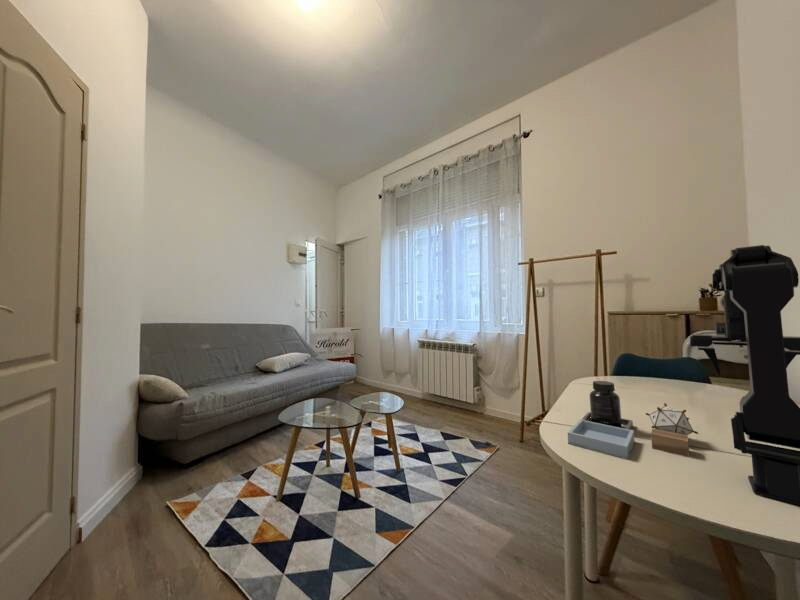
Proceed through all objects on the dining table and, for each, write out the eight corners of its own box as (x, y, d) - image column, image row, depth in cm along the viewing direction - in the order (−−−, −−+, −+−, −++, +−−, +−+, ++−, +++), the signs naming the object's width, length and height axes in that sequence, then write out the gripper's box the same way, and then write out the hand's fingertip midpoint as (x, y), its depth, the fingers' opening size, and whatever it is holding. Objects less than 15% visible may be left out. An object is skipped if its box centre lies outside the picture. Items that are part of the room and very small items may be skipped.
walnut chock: (689, 458, 62) (687, 441, 62) (652, 449, 66) (651, 433, 66) (688, 451, 65) (687, 435, 65) (653, 443, 69) (652, 428, 69)
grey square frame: (627, 438, 71) (627, 432, 72) (579, 427, 79) (579, 421, 79) (632, 426, 79) (632, 420, 79) (588, 417, 86) (588, 412, 86)
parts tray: (627, 459, 62) (627, 446, 62) (568, 443, 70) (567, 432, 70) (634, 441, 70) (633, 430, 70) (580, 429, 78) (579, 419, 78)
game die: (668, 456, 69) (642, 424, 69) (656, 431, 76) (632, 402, 77) (714, 447, 64) (686, 412, 65) (697, 421, 72) (672, 389, 72)
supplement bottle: (592, 420, 84) (590, 378, 84) (622, 425, 79) (619, 381, 80) (589, 428, 78) (587, 383, 79) (621, 434, 74) (618, 386, 75)
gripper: (797, 312, 70) (803, 377, 69) (688, 313, 83) (692, 368, 82) (810, 312, 62) (817, 386, 61) (688, 314, 75) (692, 374, 74)
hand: (747, 377), depth 70 cm, fingers open, 9 cm apart
